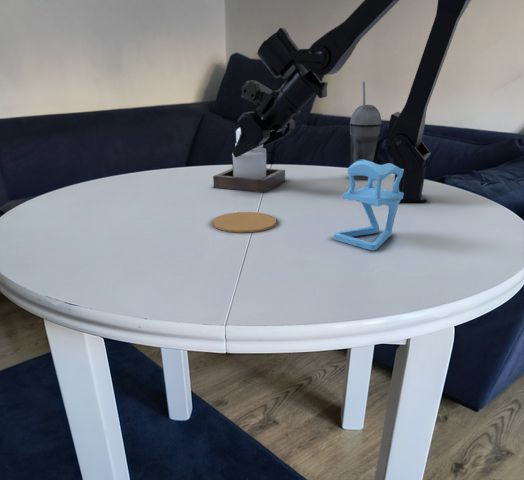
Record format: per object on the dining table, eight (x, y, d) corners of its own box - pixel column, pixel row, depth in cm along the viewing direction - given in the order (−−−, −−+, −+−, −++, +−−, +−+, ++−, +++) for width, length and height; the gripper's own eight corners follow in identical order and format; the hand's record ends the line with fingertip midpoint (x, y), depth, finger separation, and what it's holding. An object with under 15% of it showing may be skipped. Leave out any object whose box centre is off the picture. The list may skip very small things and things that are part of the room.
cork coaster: (276, 232, 80) (276, 230, 79) (209, 232, 80) (209, 230, 79) (275, 214, 89) (275, 211, 89) (216, 214, 89) (216, 212, 89)
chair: (404, 238, 76) (416, 158, 70) (373, 251, 72) (382, 165, 65) (364, 228, 81) (372, 151, 75) (332, 239, 76) (338, 158, 70)
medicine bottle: (236, 180, 113) (233, 124, 107) (266, 180, 113) (266, 124, 107) (233, 187, 107) (230, 128, 101) (265, 187, 107) (264, 128, 101)
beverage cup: (378, 181, 112) (389, 82, 101) (347, 181, 112) (354, 82, 101) (373, 174, 118) (383, 80, 107) (343, 174, 118) (350, 81, 108)
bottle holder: (285, 180, 113) (285, 169, 111) (263, 192, 103) (263, 180, 102) (238, 176, 117) (237, 165, 116) (213, 187, 107) (213, 175, 106)
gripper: (283, 64, 104) (238, 118, 113) (245, 65, 89) (197, 128, 99) (316, 106, 105) (269, 156, 115) (284, 114, 90) (233, 171, 100)
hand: (243, 152), depth 107 cm, fingers open, 9 cm apart
